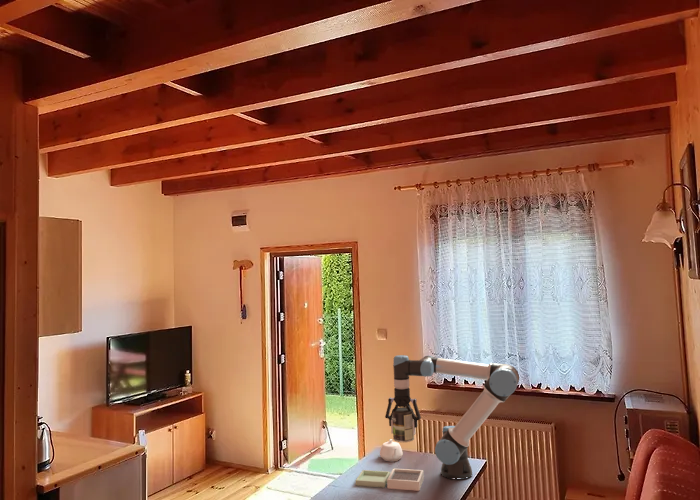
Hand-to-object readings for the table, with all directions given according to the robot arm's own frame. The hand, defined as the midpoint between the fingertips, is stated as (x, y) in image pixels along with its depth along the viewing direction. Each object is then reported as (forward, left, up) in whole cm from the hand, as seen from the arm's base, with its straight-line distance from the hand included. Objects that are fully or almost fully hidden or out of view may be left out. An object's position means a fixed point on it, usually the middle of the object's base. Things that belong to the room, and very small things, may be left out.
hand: (403, 433), depth 258 cm
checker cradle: (-1, +5, -22) cm, 23 cm away
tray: (+15, +5, -22) cm, 27 cm away
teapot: (+12, -28, -22) cm, 38 cm away
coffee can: (0, 0, -3) cm, 3 cm away
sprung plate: (-1, +5, -20) cm, 21 cm away
